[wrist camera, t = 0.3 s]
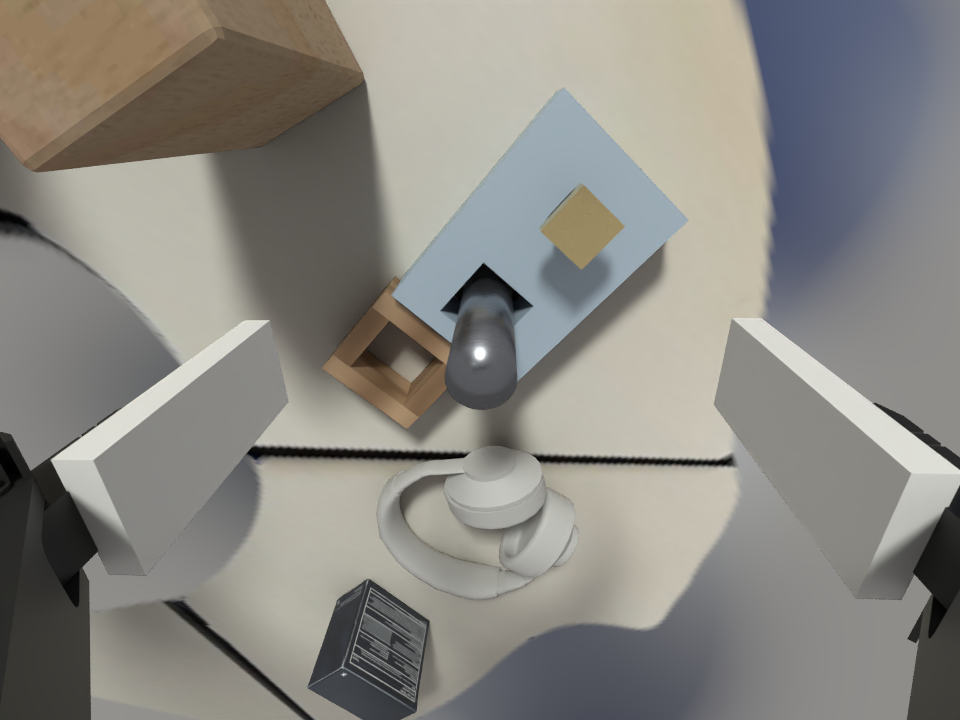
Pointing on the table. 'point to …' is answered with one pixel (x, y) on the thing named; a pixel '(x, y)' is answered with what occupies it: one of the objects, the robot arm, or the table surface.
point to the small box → (372, 655)
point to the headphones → (484, 522)
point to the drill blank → (483, 344)
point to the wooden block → (162, 76)
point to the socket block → (528, 252)
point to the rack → (380, 379)
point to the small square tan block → (581, 226)
